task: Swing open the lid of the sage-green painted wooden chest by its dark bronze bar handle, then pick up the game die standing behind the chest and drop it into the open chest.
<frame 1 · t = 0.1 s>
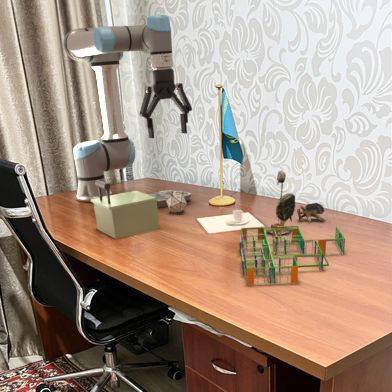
hand: (168, 135, 186), 28 cm above the table, tool pointing down, fingers open, 13 cm apart
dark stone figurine: (280, 232, 171), on the table
brown animal figurine: (310, 221, 179), on the table
teacup and saucer: (229, 222, 184), on the table
game die: (177, 213, 200), on the table
wall framing model: (292, 260, 147), on the table
chest: (128, 229, 185), on the table
lid: (121, 189, 178), point 14 cm above the table, hinge at 0.0°
brain slice: (166, 203, 215), on the table
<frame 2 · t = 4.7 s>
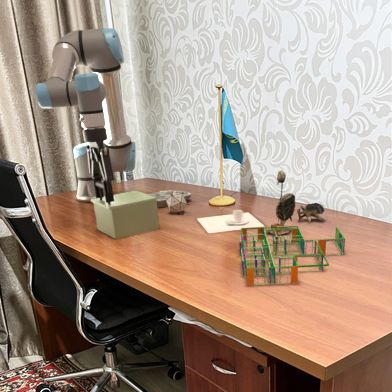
hand: (104, 199, 176), 12 cm above the table, tool pointing down, fingers closed on lid, 8 cm apart
lid: (121, 189, 178), point 14 cm above the table, hinge at 0.0°, touching gripper
everything else where it was.
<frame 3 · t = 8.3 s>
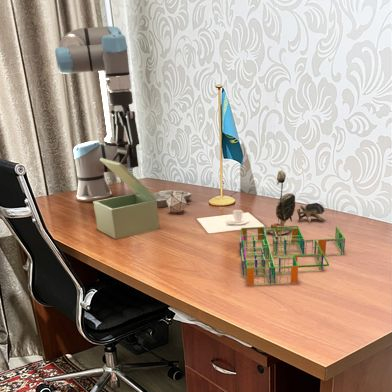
hand: (128, 165, 176), 21 cm above the table, tool pointing down, fingers closed on lid, 8 cm apart
lid: (134, 170, 177), point 19 cm above the table, hinge at 47.9°, touching gripper
everything else where it was.
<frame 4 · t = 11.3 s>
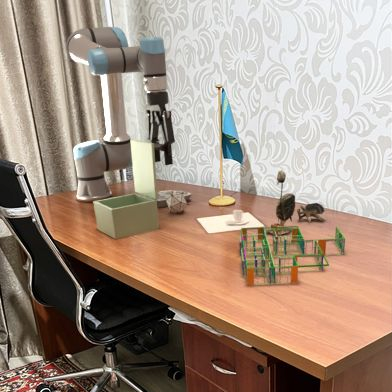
hand: (162, 163, 182), 20 cm above the table, tool pointing down, fingers closed on lid, 8 cm apart
lid: (152, 167, 180), point 19 cm above the table, hinge at 92.1°, touching gripper
everything else where it was.
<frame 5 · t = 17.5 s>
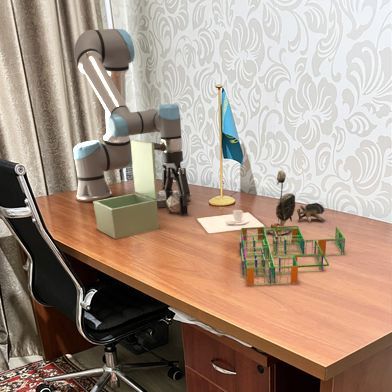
hand: (177, 211, 199), 0 cm above the table, tool pointing down, fingers closed on game die, 10 cm apart
game die: (177, 213, 200), on the table, touching gripper
lid: (152, 167, 180), point 19 cm above the table, hinge at 92.3°
everything else where it was.
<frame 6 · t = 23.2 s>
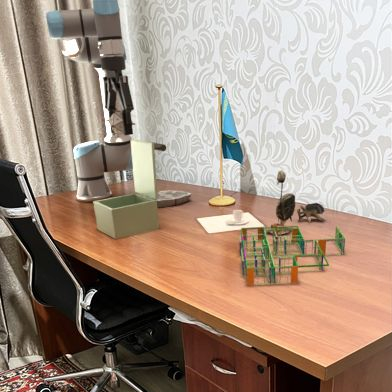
hand: (121, 133, 171), 32 cm above the table, tool pointing down, fingers closed on game die, 10 cm apart
game die: (122, 135, 171), point 31 cm above the table, touching gripper
everything else where it was.
when the fingers open (8 cm above the table, at t = 29.3 s): game die drops 6 cm, resting on chest.
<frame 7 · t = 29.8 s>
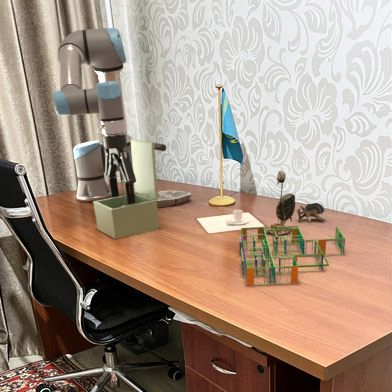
hand: (123, 200, 179), 10 cm above the table, tool pointing down, fingers open, 13 cm apart
game die: (127, 227, 184), point 1 cm above the table, touching chest
everything else where it was.
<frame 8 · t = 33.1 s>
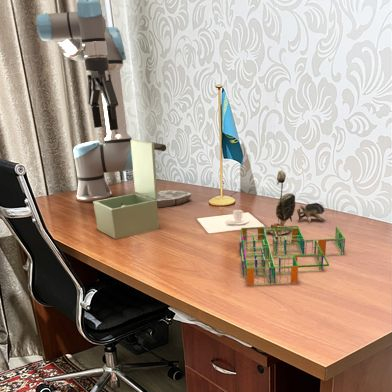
hand: (105, 128, 177), 33 cm above the table, tool pointing down, fingers open, 13 cm apart
nothing on the table moved.
at the end: lid at +92° (first picture: +0°); game die inside the target area in the chest (0.8 cm from its centre), point 0.8 cm above the chest's base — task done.
